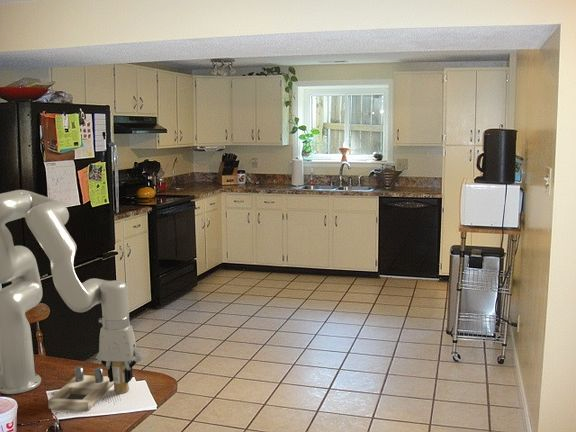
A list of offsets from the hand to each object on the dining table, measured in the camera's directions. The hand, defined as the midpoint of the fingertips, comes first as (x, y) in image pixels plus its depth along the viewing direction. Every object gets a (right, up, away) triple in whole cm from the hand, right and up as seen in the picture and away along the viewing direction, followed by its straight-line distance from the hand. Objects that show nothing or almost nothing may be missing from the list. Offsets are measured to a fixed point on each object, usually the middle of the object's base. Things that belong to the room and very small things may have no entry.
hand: (120, 379), depth 186 cm
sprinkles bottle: (0, -4, +1) cm, 4 cm away
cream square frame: (-11, -4, -2) cm, 12 cm away
